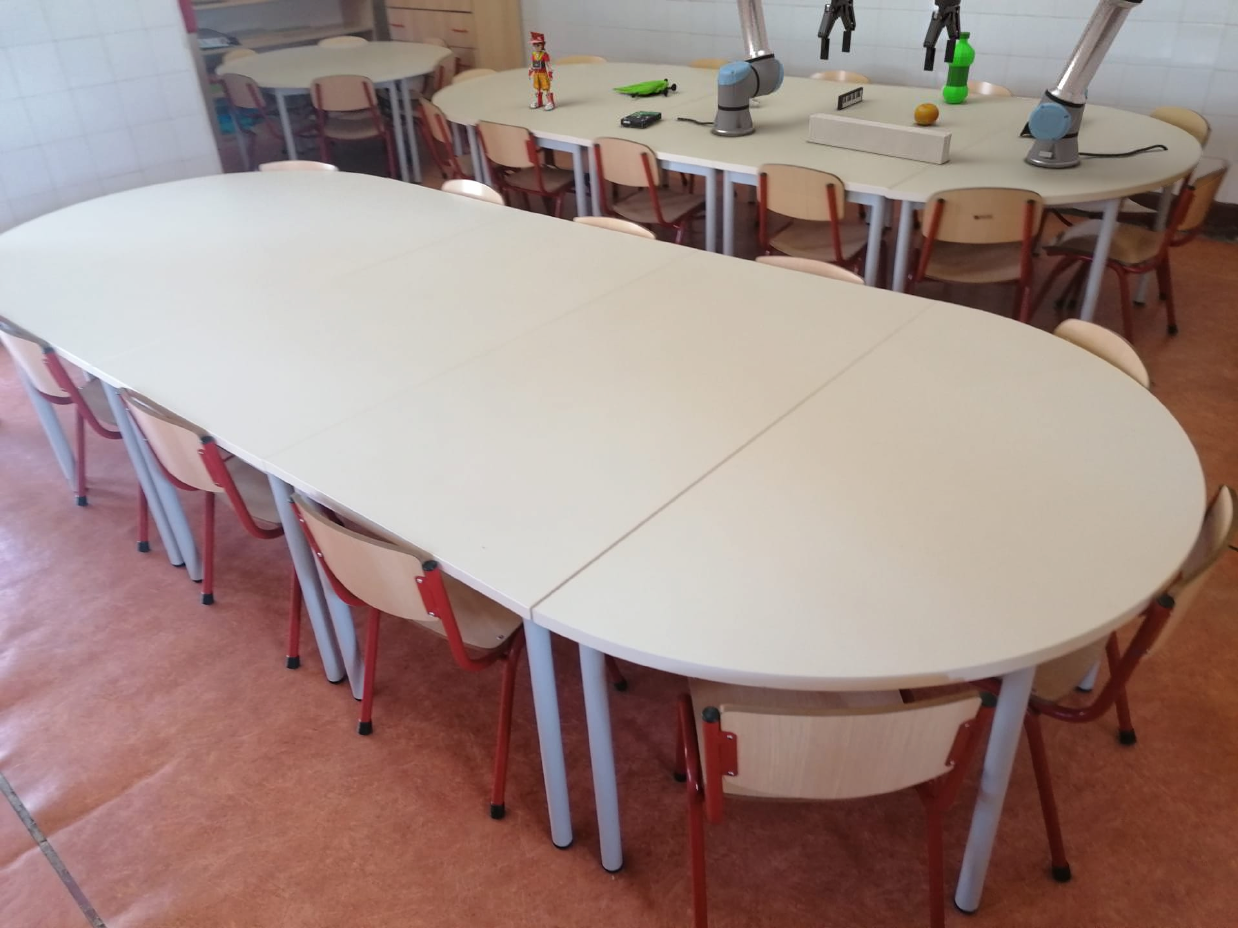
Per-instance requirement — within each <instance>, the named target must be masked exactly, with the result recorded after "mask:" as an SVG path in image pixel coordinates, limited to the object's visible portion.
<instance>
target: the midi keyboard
mask: <svg viewBox="0 0 1238 928" xmlns="http://www.w3.org/2000/svg"><path fill="white" fill-rule="evenodd" d="M863 95H864V86H860V87H857V88H855V89H851V90H850V91H847V92H845V93H842V94H840V95H838V96H837V106H836V107H837V108H836V109H837V110H842V109H844V108H846V107H849V106H851V105H853V104H855V103H858V102H860V101H863Z"/></svg>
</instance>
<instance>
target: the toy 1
mask: <svg viewBox="0 0 1238 928" xmlns="http://www.w3.org/2000/svg"><path fill="white" fill-rule="evenodd" d="M529 33H530V35H531V36H528V37H527V38H528V39H529V40H528V41H527V43H529V44H530V43H531V44H532V48H533V50H534V51H533V52H532V55H531V58H530V59H531V63H530V66H528V74H527V75H528V76H527V77H528V79H529V80H531V75H532V74H533V84H532V85H533V86H532V87H533V88H534V89H535V90H536V92H534V95H535V97H536V100H535V101H533V102H531V105H530V108H531V109H535V108H538V107H542V106H544V101H543V100H544V99H543V95H544V92H546V94H545V97H546V99H547V103H546V104H545V106H544V110H546V111H549V110H553V109H554V107H555V106H556V105H555V99H554V92H551V91H550V90H551V86H552V84H551V82H552V81H553V80H554V77H553V73H554V71H555V70H554V69H552V68H551V63H550V61H551V59H550V58H551V57H550V54H549V53H548V52H547V50H546V48H545V46H546V44H547V41H545V35H544V33H543V32H542V33H539V32H535V31H529Z"/></svg>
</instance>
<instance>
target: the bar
mask: <svg viewBox="0 0 1238 928" xmlns="http://www.w3.org/2000/svg"><path fill="white" fill-rule="evenodd" d="M808 125H809V128H808V141H807V142H809V143H814V144H820V145H824V146H825V145H827V146H833V147H838V148H842V149H849V150H854V151H861V152H867V153H871V154H873V153H874V154H879V155H884V156H890V157H897V158H901V159H907V160H913V161H919V162H926V163H931V164H937V165H942V164H944V163H946V162H947V161H948V160H949V155H950V148H951V143H952V135H953V133H952V132H947V131H940V130H934V129H927V128H921V127H913V126H906V125H900V124H893V123H888V122H887V123H886V122H880V121H873V120H866V119H859V118H852V117H846V116H840V115H833V114H828V113H827V114H826V113H821V112H820V113H819V112H817V113H814V114H812V115H810V116H809V124H808Z"/></svg>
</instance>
